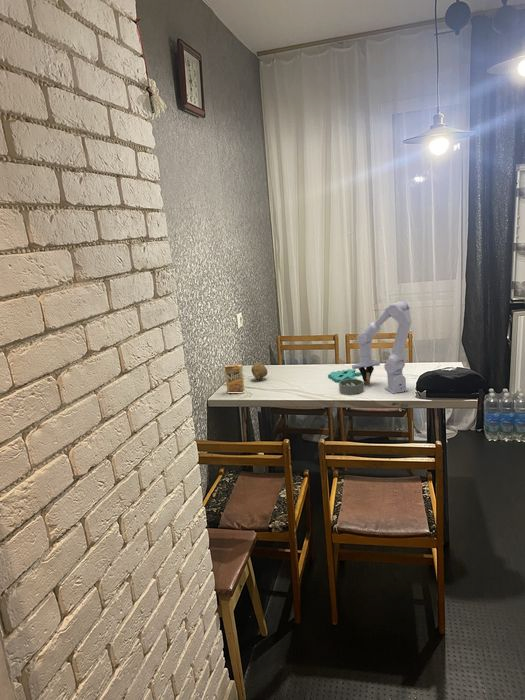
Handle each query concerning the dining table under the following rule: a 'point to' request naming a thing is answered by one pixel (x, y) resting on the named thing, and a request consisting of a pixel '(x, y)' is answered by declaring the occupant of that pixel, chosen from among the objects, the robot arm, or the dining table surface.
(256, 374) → the natural sponge
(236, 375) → the candy box
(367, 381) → the wood wick
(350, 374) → the alien figure
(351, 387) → the grey round bowl
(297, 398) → the dining table surface
